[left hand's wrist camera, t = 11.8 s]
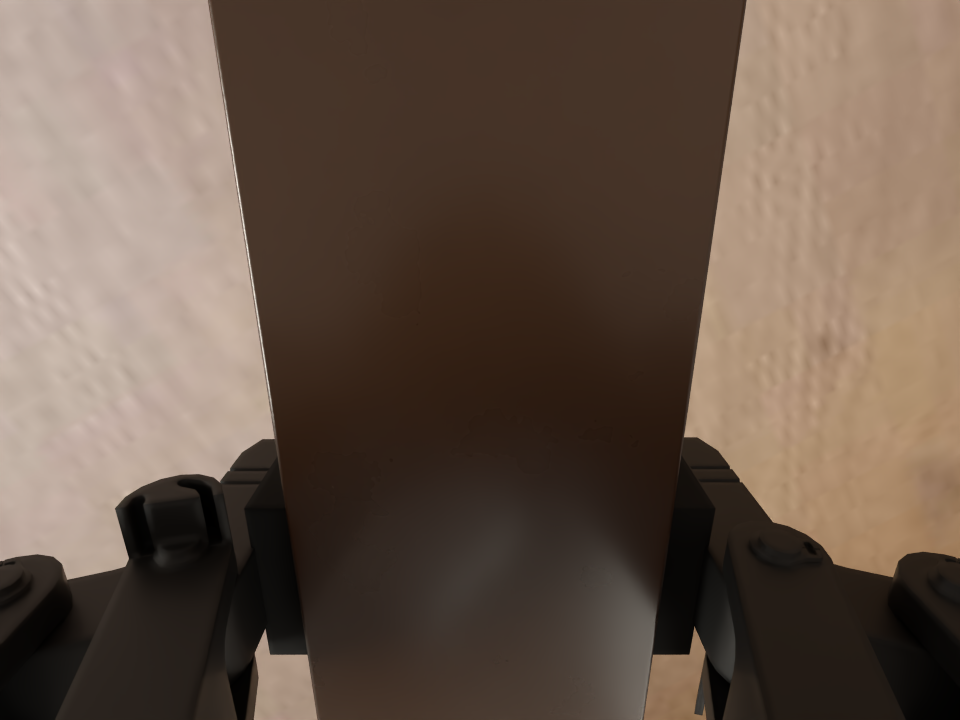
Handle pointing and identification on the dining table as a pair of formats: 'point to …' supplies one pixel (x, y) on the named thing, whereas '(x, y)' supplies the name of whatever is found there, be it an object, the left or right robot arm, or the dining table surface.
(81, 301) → the dining table surface
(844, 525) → the dining table surface
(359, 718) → the beam
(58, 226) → the dining table surface
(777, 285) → the dining table surface
